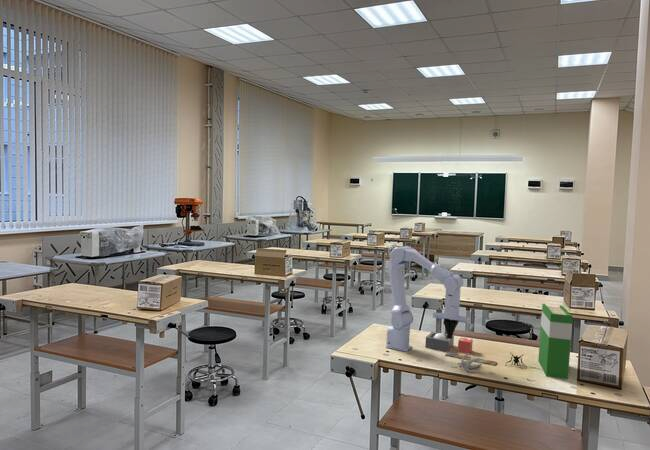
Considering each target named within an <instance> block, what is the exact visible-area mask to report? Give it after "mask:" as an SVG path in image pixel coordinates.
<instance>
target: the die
mask: <svg viewBox="0 0 650 450" xmlns="http://www.w3.org/2000/svg"><path fill="white" fill-rule="evenodd" d="M473 341H474V340H473V339H471V338H467V337H466V338H465V337H460V338H459V339H458V342H457V343H458V344H457V352H458V353H464V354H467V353H469V354H471V353H472V351H473ZM469 354H468V355H469Z"/></svg>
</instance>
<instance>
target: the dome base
mask: <svg viewBox="0 0 650 450" xmlns="http://www.w3.org/2000/svg"><path fill="white" fill-rule="evenodd" d="M437 333H438V332H437V331H431V332H430V333H429V334H428V335H427V336H425V346H424V347H425V348H427V349H432V350H433V349H434V350H437V351H443V352H446V353H447V352H449V351H450V350H451V349H452V348H453V347H454V344H455V335H453V336H452V339H448V336H447V333H443V334H444V335H445V336H446V339H447V340H443V339H438V338H434V336H435V335H436V334H437Z"/></svg>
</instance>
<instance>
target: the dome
mask: <svg viewBox="0 0 650 450" xmlns="http://www.w3.org/2000/svg"><path fill="white" fill-rule="evenodd" d="M436 333H437V334H436V335H435V336H434V338H438V339H443V340H447V339H446V336H445V335H444V334H445V333H442V332H436Z"/></svg>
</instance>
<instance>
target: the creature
mask: <svg viewBox="0 0 650 450" xmlns="http://www.w3.org/2000/svg"><path fill="white" fill-rule="evenodd" d="M523 356H524V354H521V355H520V356H518V355H514V354H513V353H511V357H510V360H509V361H507V362H506V363H505V366H507V363H511V364H510V366H512V365H513V363H514V366H516V367H518V366H519V364H522V365H524V366H525V370H527V368H528V367H527V365H526V364H524V362H523V358H522V357H523ZM519 359H520V360H519ZM521 367H522V366H519V368H521ZM521 369H524V368H521Z"/></svg>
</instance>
